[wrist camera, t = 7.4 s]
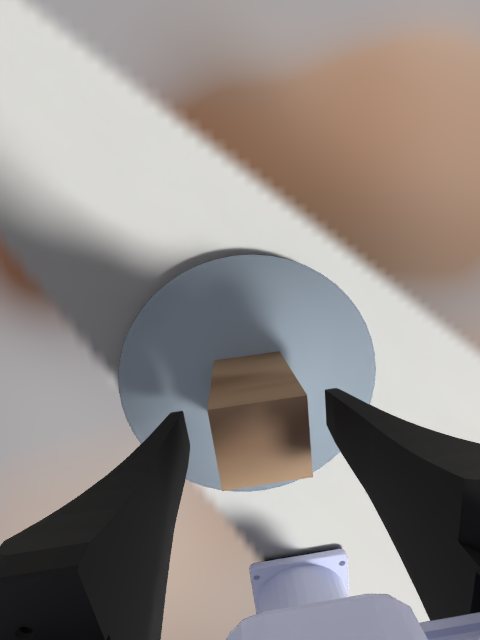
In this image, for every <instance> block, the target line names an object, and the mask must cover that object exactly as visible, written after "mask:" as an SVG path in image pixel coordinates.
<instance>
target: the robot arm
mask: <svg viewBox="0 0 480 640" xmlns="http://www.w3.org/2000/svg"><path fill="white" fill-rule="evenodd" d="M325 406H326V425H327V427H328V429H329V431H330V433H331V435H332V437H333V439H334V441H335V443H336V445H337V447H338V448H339V450H340V451H341V453H342V455H343V456H344V458H345V459H346V461H347V462H348V464H349V466H350V467H351V469H352V470H353V472H354V473H355V475H356V476H357V478H358V479H359V481H360V483H361V484H362V486H363V487H364V489H365V491H366V492H367V494H368V496H369V497H370V499H371V501H372V503H373V505H374V506H375V508H376V510H377V512H378V514H379V516H380V518H381V520H382V522H383V524H384V525H385V527H386V529H387V531H388V533H389V535H390V537H391V539H392V541H393V543H394V545H395V547H396V549H397V551H398V553H399V555H400V557H401V559H402V561H403V563H404V566H405V568H406V570H407V572H408V574H409V576H410V578H411V580H412V582H413V584H414V586H415V588H416V590H417V593H418V595H419V597H420V599H421V601H422V603H423V606H424V608H425V610H426V612H427V614H428V616H429V619H430V621H427V622H422V623H419V622H418V620H417V618H416V617H415V615H414V613H413V611H412V609H411V607H410V606H408V605H406V604H405V603H403V602H401V601H399V600H397V599H396V598H394V597H392V596H390V595H388V594H363V595H357V596H352V597H349V585H348V557H347V554H346V552H345V550H343V549H336V550H330V551H324V552H318V553H312V554H306V555H300V556H294V557H288V558H282V559H276V560H270V561H264V562H258V563H254V564H252V565H251V566H250V577H251V583H252V589H253V595H254V601H255V607H256V613H257V614H256V615H253V616H251V617H248V618H245V619H243V620H242V621H241V622H240V623H239V624H238V625H237V626H236V627H235V628H234V629H233V630H232V631H231V632H230V633H229V635H228V636H227V638H226V640H480V444H479V443H475V442H471V441H467V440H463V439H459V438H456V437H452V436H449V435H446V434H442V433H439V432H436V431H433V430H430V429H427V428H424V427H421V426H418V425H415V424H413V423H410V422H407V421H405V420H402V419H400V418H398V417H395V416H393V415H391V414H389V413H386V412H384V411H382V410H380V409H378V408H376V407H374V406H372V405H370V404H368V403H366V402H364V401H362V400H360V399H358V398H356V397H354V396H352V395H350V394H348V393H346V392H344V391H342V390H340V389H338V388H332V389H326V390H325ZM189 454H190V441H189V437H188V432H187V427H186V422H185V418H184V413H183V411H178V412H171V413H170V414H169V415H168V416H167V417H166V418H165V419H164V420H163V421H162V423H161V424H160V425H159V426H158V427H157V428H156V429H155V430H154V431H153V432H152V433H151V434H150V436H149V437H148V438H147V439H146V440H145V441H144V442H143V443H142V444H141V445H140V446H139V447H138V448H137V449H136V450H135V451H134V452H133V453H132V454H131V455H130V456H129V457H127V458H126V459H125V460H124V461H123V462H122V463H121V464H120V465H118V466H117V467H116V468H115V469H114V470H113V471H111V472H110V473H109V474H108V475H107V476H105V477H104V478H103V479H101V480H100V481H99V482H97V483H96V484H95V485H93V486H92V487H90V488H89V489H88V490H86V491H85V492H84V493H82V494H81V495H80V496H78V497H77V498H75V499H74V500H72V501H71V502H69V503H68V504H66V505H65V506H63V507H62V508H60V509H59V510H57V511H55V512H54V513H52V514H51V515H49V516H47V517H46V518H44V519H42V520H41V521H39V522H37V523H36V524H34V525H32V526H30V527H28V528H27V529H25V530H23V531H22V532H20V533H18V534H16V535H14V536H13V537H11V538H9V539H7V540H5V541H4V542H3V543H2V544H1V546H0V640H160V639H161V630H162V621H163V612H164V603H165V594H166V585H167V578H168V570H169V562H170V554H171V548H172V541H173V533H174V528H175V522H176V517H177V513H178V509H179V504H180V500H181V496H182V491H183V487H184V483H185V478H186V474H187V469H188V463H189Z"/></svg>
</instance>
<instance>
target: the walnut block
mask: <svg viewBox="0 0 480 640" xmlns="http://www.w3.org/2000/svg"><path fill="white" fill-rule="evenodd" d="M207 411H208V416H209V422H210V428H211V433H212V439H213V444H214V450H215V455H216V461H217V466H218V472H219V477H220V483H221V488H222V491H227V490H233V489H240V488H246V487H252V486H259V485H265V484H272V483H278V482H284V481H291V480H297V479H304V478H310V477H313V471H312V457H311V442H310V428H309V414H308V399H307V394H306V393H305V391H304V389H303V388H302V386H301V385H300V383H299V381H298V380H297V378H296V377H295V375H294V373H293V372H292V370H291V369H290V367H289V365H288V364H287V362H286V361H285V359H284V357H283V356H282V354H281V353H280V351H277V352H270V353H263V354H256V355H249V356H242V357H235V358H228V359H221V360H214V365H213V372H212V379H211V387H210V394H209V401H208V409H207Z"/></svg>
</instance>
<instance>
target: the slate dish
mask: <svg viewBox="0 0 480 640" xmlns="http://www.w3.org/2000/svg"><path fill="white" fill-rule="evenodd" d="M277 351H280V353H281V354H282V356H283V357H284V359H285V361H286V362H287V364H288V365H289V367H290V369H291V370H292V372H293V373H294V375H295V377H296V378H297V380H298V381H299V383H300V385H301V386H302V388H303V389H304V391H305V393H306V394H307V399H308V414H309V428H310V442H311V457H312V471H313V472H314V471H316V470H318V469H319V468H321V467H322V466H323V465H325V464H326V463H328V462H329V461H330V460H332V459H333V458H334V457H335V456H336V455H337V454H338V453H339V452H340V450H339V448H338V447H337V445H336V443H335V441H334V439H333V437H332V435H331V433H330V431H329V429H328V427H327V425H326V406H325V390H326V389H332V388H338V389H340V390H342V391H344V392H346V393H348V394H350V395H352V396H354V397H356V398H358V399H360V400H362V401H364V402H366V403H368V404H370V402H371V399H372V394H373V389H374V384H375V371H376V367H375V353H374V349H373V344H372V339H371V336H370V334H369V331H368V328H367V325H366V323H365V321H364V319H363V318H362V316H361V314H360V312H359V310H358V309H357V307H356V306H355V305H354V303H353V302H352V301H351V300H350V298H349V297H348V296H347V295H346V294H345V293H344V292H343V291H342V290H341V289H340V288H339V287H338V286H337V285H336V284H335V283H333V282H332V281H331V280H329V279H328V278H326V277H325V276H324V275H322V274H321V273H319V272H317V271H315V270H313V269H311V268H309V267H307V266H305V265H302V264H300V263H297V262H294V261H291V260H288V259H284V258H279V257H274V256H266V255H237V256H229V257H224V258H219V259H215V260H212V261H209V262H206V263H203V264H200V265H197V266H195V267H193V268H191V269H189V270H187V271H185V272H183V273H181V274H179V275H178V276H177V277H175V278H174V279H172V280H171V281H169V282H168V283H167V284H165V285H164V286H163V287H162V288H161V289H160V290H158V291H157V292H156V293H155V294H154V295H153V296H152V297H151V298H150V299H149V300H148V302H147V303H146V304H145V305H144V307H143V308H142V309H141V310H140V312H139V313H138V315H137V317H136V318H135V320H134V322H133V323H132V325H131V327H130V329H129V331H128V334H127V336H126V339H125V341H124V344H123V348H122V352H121V356H120V363H119V373H118V379H119V393H120V398H121V403H122V407H123V410H124V413H125V416H126V418H127V421H128V423H129V425H130V427H131V429H132V430H133V433H134V434H135V436H136V437H137V439H138V440H139V442H140V443H141V444H142V443H143V442H144V441H145V440H146V439H147V438H148V437H149V436H150V434H151V433H152V432H153V431H154V430H155V429H156V428H157V427H158V426H159V425H160V424H161V423H162V421H163V420H164V419H165V418H166V417H167V416H168V415H169V414H170V413H171V412H178V411H183V413H184V418H185V422H186V427H187V432H188V437H189V441H190V454H189V463H188V469H187V474H186V478H185V479H186V480H189V481H191V482H193V483H196V484H199V485H202V486H205V487H209V488H214V489H218V490H222V488H221V483H220V477H219V472H218V466H217V461H216V455H215V450H214V444H213V439H212V433H211V428H210V422H209V416H208V411H207V409H208V401H209V394H210V387H211V379H212V372H213V365H214V360H221V359H228V358H235V357H242V356H249V355H256V354H263V353H270V352H277ZM297 480H299V479H297ZM297 480H291V481H284V482H278V483H272V484H265V485H259V486H252V487H246V488H240V489H233V490H227V491H259V490H266V489H271V488H276V487H280V486H283V485H286V484H289V483H292V482H294V481H297Z"/></svg>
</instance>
